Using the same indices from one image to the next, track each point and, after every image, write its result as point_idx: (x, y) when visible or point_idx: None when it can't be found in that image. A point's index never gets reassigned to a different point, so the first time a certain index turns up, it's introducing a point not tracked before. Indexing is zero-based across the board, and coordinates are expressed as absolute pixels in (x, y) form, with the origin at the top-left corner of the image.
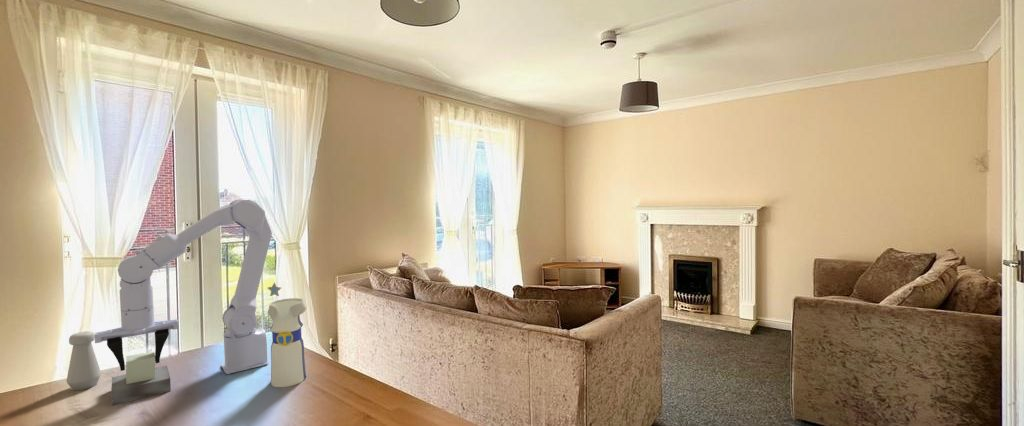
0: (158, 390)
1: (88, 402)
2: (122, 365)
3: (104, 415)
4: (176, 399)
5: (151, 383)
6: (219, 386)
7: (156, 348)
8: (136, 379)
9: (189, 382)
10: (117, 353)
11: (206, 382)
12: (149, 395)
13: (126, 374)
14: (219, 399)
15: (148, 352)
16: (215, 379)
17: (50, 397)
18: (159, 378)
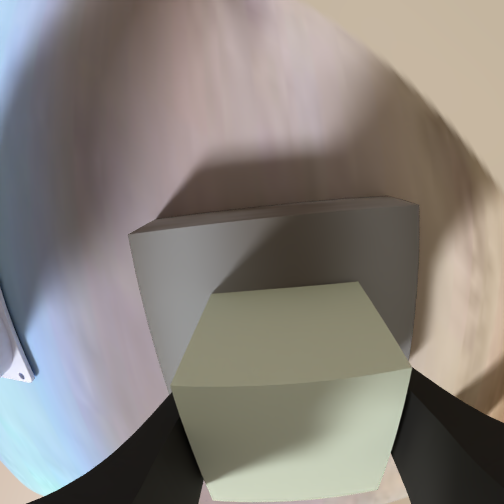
0: (200, 215)
1: (451, 300)
2: (413, 380)
3: (398, 92)
4: (127, 84)
5: (224, 220)
6: (2, 151)
7: (146, 471)
8: (309, 293)
9: (95, 280)
10: (499, 439)
11: (38, 231)
12: (242, 209)
13: (374, 308)
14: (19, 24)
15: (247, 500)
16: (17, 245)
17: (495, 398)
18: (185, 270)
